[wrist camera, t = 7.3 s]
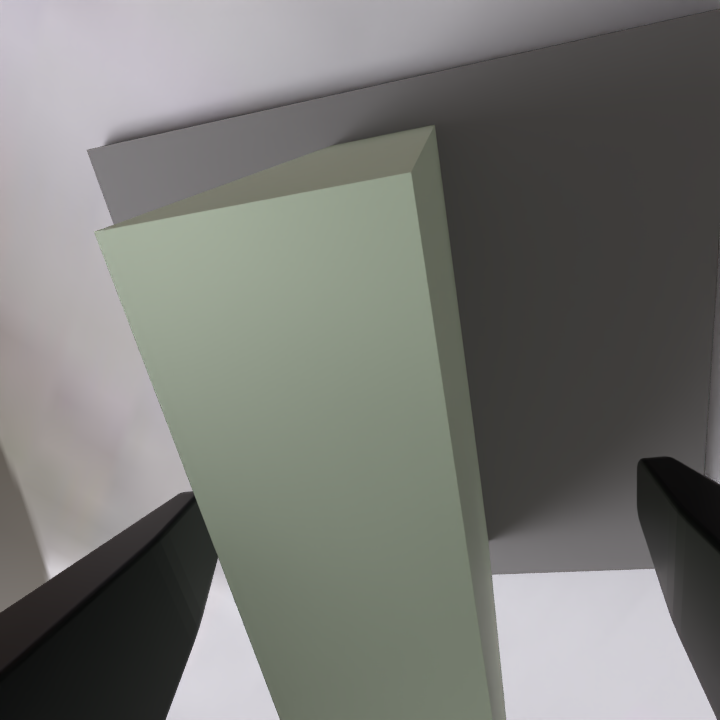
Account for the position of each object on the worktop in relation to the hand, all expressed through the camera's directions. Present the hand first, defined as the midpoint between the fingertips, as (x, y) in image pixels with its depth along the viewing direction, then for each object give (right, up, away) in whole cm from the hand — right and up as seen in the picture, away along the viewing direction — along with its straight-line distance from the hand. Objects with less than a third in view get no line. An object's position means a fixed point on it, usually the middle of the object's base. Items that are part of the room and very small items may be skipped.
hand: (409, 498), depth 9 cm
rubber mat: (+1, +2, +4) cm, 5 cm away
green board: (+1, +2, +4) cm, 4 cm away
